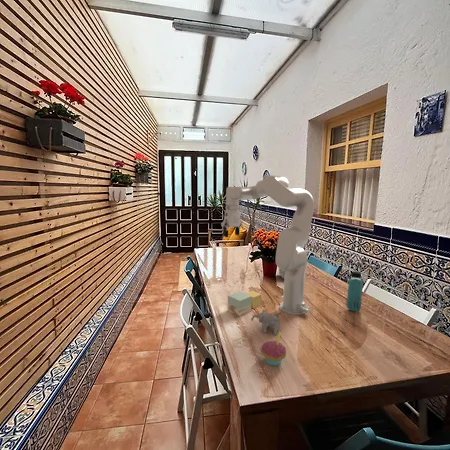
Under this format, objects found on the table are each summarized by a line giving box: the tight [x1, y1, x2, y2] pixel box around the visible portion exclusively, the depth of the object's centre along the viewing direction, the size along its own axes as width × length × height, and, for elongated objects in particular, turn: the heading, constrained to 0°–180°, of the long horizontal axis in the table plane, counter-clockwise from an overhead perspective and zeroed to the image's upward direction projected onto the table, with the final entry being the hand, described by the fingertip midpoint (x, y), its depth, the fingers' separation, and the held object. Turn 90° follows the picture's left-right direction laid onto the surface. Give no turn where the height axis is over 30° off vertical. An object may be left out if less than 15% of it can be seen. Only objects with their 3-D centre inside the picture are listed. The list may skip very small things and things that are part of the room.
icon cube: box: [278, 268, 285, 279], centre depth 177 cm, size 10×10×10 cm
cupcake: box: [260, 330, 287, 366], centre depth 88 cm, size 9×8×12 cm
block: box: [245, 290, 262, 310], centre depth 132 cm, size 6×6×6 cm
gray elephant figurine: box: [250, 309, 281, 336], centre depth 109 cm, size 9×12×8 cm
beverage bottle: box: [346, 271, 363, 312], centre depth 127 cm, size 6×7×20 cm
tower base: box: [227, 303, 252, 317], centre depth 126 cm, size 8×8×4 cm
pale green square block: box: [227, 291, 251, 309], centre depth 125 cm, size 8×8×4 cm
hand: (231, 235), depth 157 cm, fingers open, 9 cm apart
